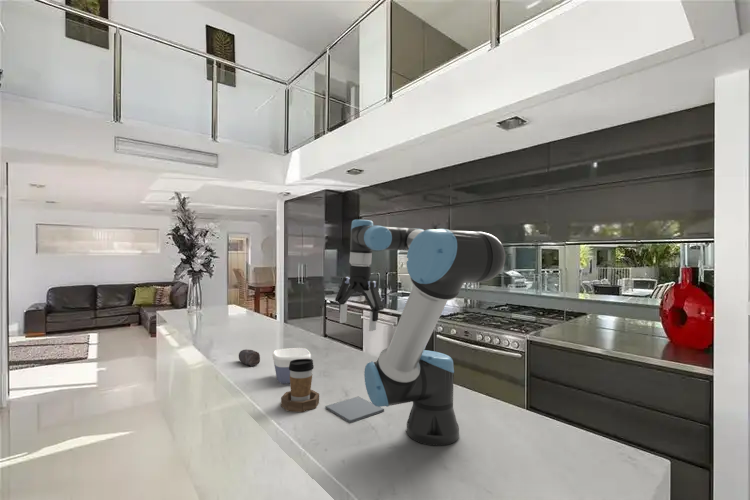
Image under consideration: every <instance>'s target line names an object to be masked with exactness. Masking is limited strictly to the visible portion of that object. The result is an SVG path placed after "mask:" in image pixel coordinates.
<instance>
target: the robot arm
mask: <svg viewBox="0 0 750 500" xmlns="http://www.w3.org/2000/svg"><path fill="white" fill-rule="evenodd" d="M349 245H350V246H349V247H350V248H349V249H350V250H349V261H348V262H349V264H350V265H349V266H348V276H343V277H342V283H341V285H340V287H339V290H338V292H337V294H336V297H335V299H334V301H335V302H338V304H339V306H338V307H339V309H338V311H339V324H344V323H347V321H348V320H347V319H348V318H347V316H348V303H347V302H348V300H349V299H350V298H351V296H353V294H354V293H360V294H362V295H363V296H364V298H365V299H366V302H367V304H368V306H369V307H370V309H371V310H370V311H369V323H368V324H369V325H368V331H369V332H373V331H377V322H378V320H379V312H380V311H383V310H384V304H383V301H382V298H381V295H380V291H379V289H378V281H377V280H373V281H371V279H370V278H371V276H372V266H371V265H372V259H373V258H372V256H373V255H372V254H373V251H402V252H403V251H404V252H406V251H407V253H406V258H407V261H406V269H407V273H408V276H409V277H410V278H409V279H410V282H411V284H412V288H411V289H410V293H409V294H408V295H409V296H408V297H407V300H406V303H405V305H404V308H403V310H402V313H401V315H400V317H399V320H398V323H397V324H396V325H397V326H396V327H395V330H394V333H393V336H392V338H391V341H390V343H389V344H388V345H389V346H388V347H386V348H384V349H383V350H382V351H380V353H379V355H378V358H377V359H376V360H377V361H369V362H367V363H366V364H365V367H364V371H363V372H364V374H363V375H364V377H363V378H364V384H365V389H366V393H367V395H368V398H369V400H370V402H371V403H373V404H374V405H375V406H377V407H381V408H383V407H390V406H396V405H402V404H406V403H407V404H408V403H412V406H411V409H410V412H409V415H408V419H407V421H406V434H407V435H408V437H410V439H412V440H413V441H415V442H417V443H420V444H424V445H430V446H447V445H451V444H454V443H455V442H457V441H458V439H459V438H460V426H459V424H458V421H457V416H456V413H455V410H454V409H455V408H454V378H455V377H454V373H455V369H454V360H453V358H452V357H451V356H450V355H448V354H445V353H442V352H438V351H433V350H426V346H427V344H428V342H429V341H430V338H431V337H432V334H433V332H434V330H435V328H436V326H437V324H438V322H439V319H440V317H441V315H442V313H443V311H444V308H445V307H446V304H447V303H448V301H451V300H454V299H456V298H457V297H458V295H459V293H460V291H461V290H462V287H463V285H464V284H466V283H467V284H468V283H470V284H471V283H484V282H488V281H490V280H492V279H494V278H495V277H497V276H498V275H499V274H500V273H501V271H502V269H503V268H504V266H505V263H506V251H505V248H504V246H503V244H502V242H501V241H500V240H499V238H498V237H496V236H494V235H493V234H491V233H487V232H483V231H476V230H475V231H471V230H470V231H469V230H457V229H456V230H453V229H448V228H436V229H434V228H432V229H431V228H429V229H425V230H424V229H423V228H419V227H417V228H416V227H412V228H411V227H397V226H383V225H378V224H377V225H375V224H374V222H373V221H372V220H368V219H353V220H352V221H351V225H350V244H349Z"/></svg>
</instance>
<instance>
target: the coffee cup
mask: <svg viewBox="0 0 750 500" xmlns="http://www.w3.org/2000/svg"><path fill="white" fill-rule="evenodd" d="M314 366H315V365H314V360H313V359H311V358H310V359H296V360H292V361H290V365H289V370H290V383H289V386H290V387H289V388H290V391H291V401H302V402H303V401H306V400H310V391H311V390H312V381H313V370H314Z"/></svg>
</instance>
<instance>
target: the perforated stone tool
mask: <svg viewBox="0 0 750 500" xmlns="http://www.w3.org/2000/svg"><path fill="white" fill-rule="evenodd" d="M238 360H239V361H240V363H241V364H242V363H243V365H246V366H250V367H254V366H258V365H259V364H260V362H261V355H260V353H259V352H258V351H255V350H253V349H247V348H246V349H242V350H240V351H239V352H238Z"/></svg>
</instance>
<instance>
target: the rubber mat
mask: <svg viewBox="0 0 750 500" xmlns="http://www.w3.org/2000/svg"><path fill="white" fill-rule="evenodd" d="M324 408H325V410H328V411H329V412H331V413H333V414H334V415H336V416H338V417H339V418H341V419H342V420H344V421H346V422H347V423H350V424H351V423H354V422H358V421H359V420H363V419H366V418H369V417H371V416H374V415H378V414H380V413H383V412H385V408H384V407H377V406H375V405H374V404H373V403H372V402H371V401H369V400H367V399H364V398H363V397H360V396H355V397H351V398H348V399H345V400H341V401H338V402H335V403H331V404H328V405H325V407H324Z"/></svg>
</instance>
